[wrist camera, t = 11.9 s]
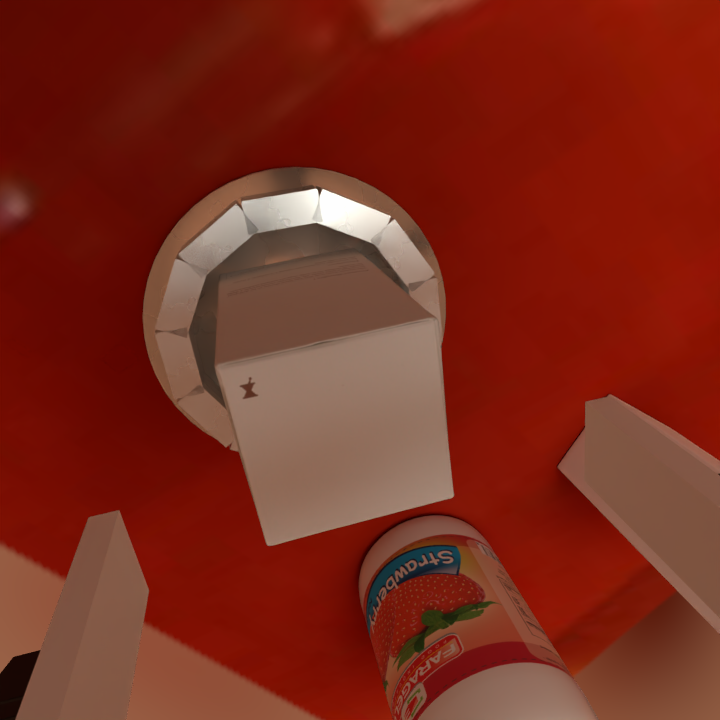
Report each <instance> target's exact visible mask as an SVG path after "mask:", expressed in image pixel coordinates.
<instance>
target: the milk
mask: <svg viewBox="0 0 720 720" xmlns="http://www.w3.org/2000/svg"><path fill="white" fill-rule="evenodd" d="M609 396H610V397H612V398H613V399H614V400H616V401H617V402H618V403H620V404H621V405H623V406H624V407H625V408H627V409H628V410H630V411H631V412H632V413H634V414H635V415H637V416H638V417H639V418H641V419H642V420H643V421H645V422H646V423H648V424H649V425H650V426H652V427H653V428H655V429H656V430H657V431H659V432H660V433H661V434H663V435H664V436H666V437H667V438H668V439H670V440H671V441H673V442H674V443H675V444H677V445H678V446H679V447H681V448H682V449H684V450H685V451H686V452H688V453H689V454H691V455H692V456H693V457H695V458H696V459H697V460H699V461H700V462H702V463H703V464H704V465H706V466H707V467H709V468H710V469H711V470H713V471H714V472H715V473H717V474H719V473H720V461H719V460H717V459H716V458H714V457H713V456H711V455H710V454H708V453H707V452H705V451H704V450H703V449H701V448H700V447H698V446H697V445H695V444H694V443H692V442H691V441H689V440H688V439H686V438H685V437H683V436H682V435H680V434H679V433H677V432H676V431H674V430H673V429H671V428H670V427H668V426H666V425H664V424H663V423H661V422H659V421H657V420H655V419H654V418H652V417H650V416H648V415H646V414H645V413H643V412H641V411H639V410H638V409H636V408H634V407H632V406H630V405H629V404H627V403H625V402H623V401H621V400H620V399H618V398H616V397H614V396H613V395H611V394H609V395H608V396H607V397H609ZM584 464H585V428H584V430H583V431H582V432H581V434H580V435H579V437H578V438H577V439H576V441H575V442H574V444H573V445H572V446H571V448H570V449H569V451H568V452H567V453H566V455H565V456H564V458H563V459H562V460H561V462H560V463H559V465H558V469H559V470H560V471H561V472H562V473H563V474H564V475H565V476H566V477H567V478H568V479H569V480H570V481H571V482H572V483H573V484H574V485H575V486H576V487H577V488H578V489H579V490H580V491H581V492H582V493H583V494H584V496H585V497H586V498H587V499H588V500H589V501H590V502H591V503H592V504H593V505H594V506H595V507H596V508H597V509H598V510H599V511H600V512H601V513H602V514H603V515H604V516H605V517H606V518H607V519H608V520H609V521H610V522H611V523H612V524H613V525H614V526H615V527H616V528H617V529H618V530H619V531H620V532H621V533H622V534H623V536H624V537H625V538H626V539H627V540H628V541H629V542H630V543H631V544H632V545H633V546H634V547H635V548H636V549H637V550H638V551H639V552H640V553H641V554H642V555H643V556H644V557H645V558H646V559H647V560H648V561H649V562H650V563H651V564H652V565H653V566H654V567H655V568H656V569H657V570H658V571H659V572H660V573H661V574H662V576H663V577H664V578H665V579H666V580H667V581H668V582H669V583H670V584H671V585H672V586H673V587H674V588H675V589H676V590H677V591H678V592H679V593H680V594H681V595H682V596H683V597H684V598H685V599H686V600H687V601H688V602H689V603H690V604H691V605H692V606H693V607H694V608H695V609H696V610H697V611H698V612H699V613H700V614H701V616H703V617H704V619H705V620H706V621H707V622H708V623H709V624H710V625H711V626H712V627H713V628H714V629H715V630H716V631H717V632H718V633H719V634H720V618H719V617H718V616H717V615H716V614H715V613H714V612H713V611H712V610H711V609H710V608H709V607H708V606H707V605H706V604H705V603H704V602H703V601H702V600H701V599H700V598H699V597H698V596H697V595H696V594H695V593H694V592H693V591H692V590H691V589H690V588H689V587H688V586H687V585H686V584H685V583H684V582H683V581H682V580H681V579H680V578H679V577H678V576H677V575H676V574H675V573H674V571H673V570H672V569H671V568H670V567H669V566H668V565H667V564H666V563H665V562H664V561H663V560H662V559H661V558H660V557H659V556H658V555H657V554H656V553H655V552H654V551H653V550H652V549H651V548H650V547H649V546H648V545H647V544H646V543H645V542H644V541H643V540H642V539H641V538H640V537H639V536H638V535H637V534H636V533H635V532H634V531H633V530H632V529H631V528H630V527H629V526H628V525H627V524H626V523H625V522H624V521H623V520H622V519H621V518H620V517H619V516H618V515H617V514H616V513H615V512H614V511H613V510H612V509H611V508H610V507H609V506H608V505H607V504H606V503H605V501H604V500H603V499H602V498H601V497H600V496H599V495H598V494H597V493H596V492H595V491H594V490H593V489H592V488H591V487H590V486H589V485H588V484H587V483H586V482H585V481H584Z"/></svg>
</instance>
